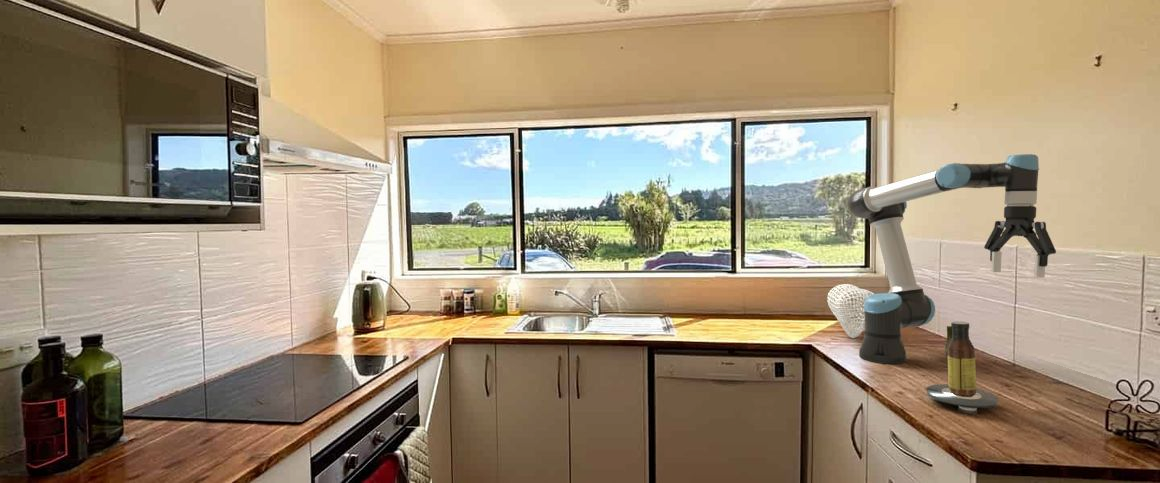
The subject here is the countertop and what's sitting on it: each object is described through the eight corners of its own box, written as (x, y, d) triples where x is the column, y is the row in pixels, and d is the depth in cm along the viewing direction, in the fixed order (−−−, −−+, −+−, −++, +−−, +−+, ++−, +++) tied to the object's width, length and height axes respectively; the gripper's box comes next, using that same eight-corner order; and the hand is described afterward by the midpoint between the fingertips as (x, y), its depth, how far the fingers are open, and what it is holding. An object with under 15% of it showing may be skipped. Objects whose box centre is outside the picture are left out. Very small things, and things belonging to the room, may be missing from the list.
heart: (822, 330, 236) (822, 282, 235) (858, 330, 234) (858, 282, 233) (845, 346, 209) (845, 291, 208) (886, 346, 207) (887, 291, 206)
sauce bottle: (977, 392, 144) (978, 322, 143) (974, 398, 140) (975, 325, 139) (948, 387, 149) (949, 319, 148) (945, 393, 144) (946, 322, 143)
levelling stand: (912, 396, 151) (912, 386, 151) (961, 392, 153) (961, 382, 153) (960, 417, 135) (961, 405, 135) (1013, 412, 138) (1014, 401, 137)
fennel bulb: (965, 361, 184) (966, 328, 183) (950, 361, 184) (951, 328, 184) (956, 357, 189) (957, 324, 189) (942, 357, 190) (942, 324, 190)
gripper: (1075, 205, 146) (1070, 279, 148) (992, 206, 171) (989, 269, 172) (1052, 205, 145) (1048, 280, 146) (972, 205, 170) (969, 270, 171)
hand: (1016, 274), depth 159 cm, fingers open, 13 cm apart
